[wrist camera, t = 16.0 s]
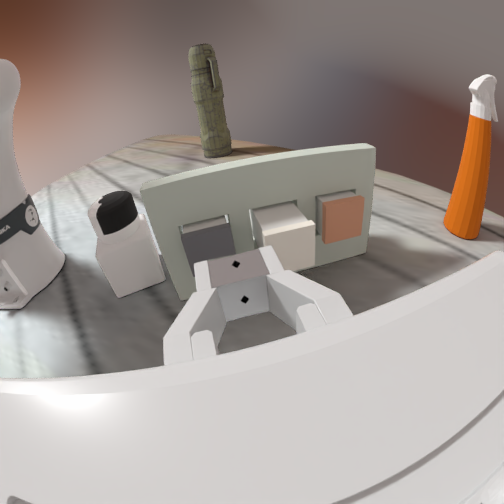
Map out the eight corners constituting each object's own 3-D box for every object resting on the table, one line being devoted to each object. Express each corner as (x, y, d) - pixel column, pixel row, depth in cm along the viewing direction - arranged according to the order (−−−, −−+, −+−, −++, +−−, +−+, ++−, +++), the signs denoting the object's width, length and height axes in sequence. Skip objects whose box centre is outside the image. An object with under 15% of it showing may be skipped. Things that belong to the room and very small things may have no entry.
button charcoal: (193, 277, 27) (180, 238, 24) (189, 232, 34) (180, 200, 31) (238, 266, 27) (230, 226, 24) (225, 224, 34) (218, 190, 32)
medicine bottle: (158, 253, 39) (133, 180, 32) (166, 281, 34) (135, 197, 27) (116, 269, 37) (85, 199, 30) (118, 299, 32) (77, 221, 25)
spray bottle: (491, 228, 33) (514, 84, 18) (465, 244, 32) (492, 70, 16) (465, 210, 39) (480, 74, 23) (435, 222, 37) (450, 61, 22)
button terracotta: (325, 244, 28) (326, 205, 26) (295, 208, 35) (293, 175, 33) (361, 235, 29) (364, 198, 26) (326, 202, 36) (326, 170, 33)
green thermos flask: (220, 159, 73) (200, 41, 53) (195, 156, 80) (176, 51, 60) (242, 150, 78) (225, 40, 57) (216, 148, 85) (200, 48, 65)
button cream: (269, 277, 25) (264, 236, 23) (248, 230, 32) (242, 195, 30) (314, 265, 26) (315, 224, 23) (285, 221, 33) (282, 187, 30)
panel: (180, 300, 31) (139, 190, 23) (179, 260, 37) (149, 166, 29) (365, 252, 34) (375, 147, 25) (338, 223, 40) (339, 132, 32)
